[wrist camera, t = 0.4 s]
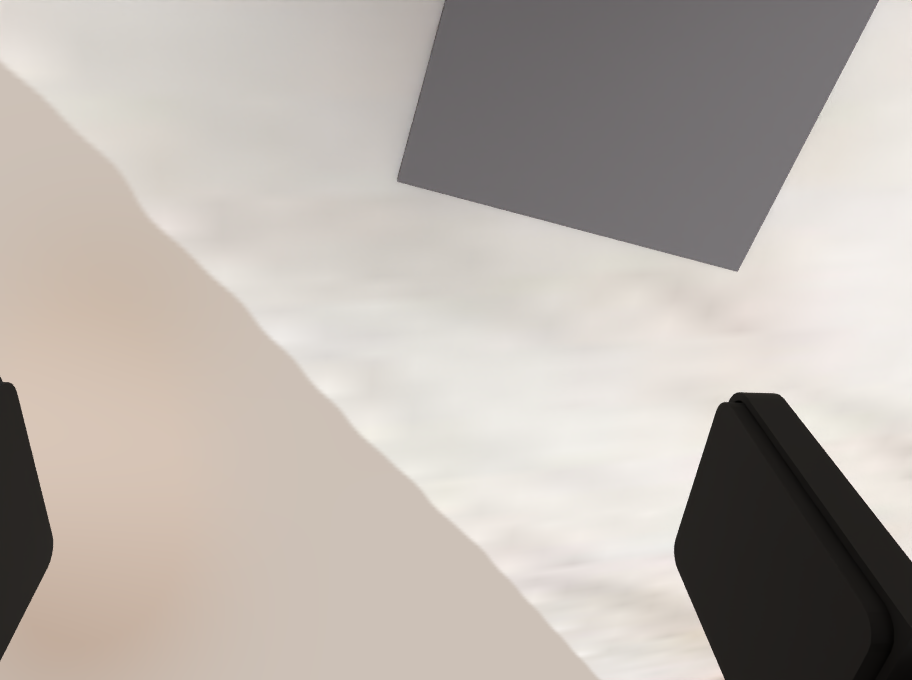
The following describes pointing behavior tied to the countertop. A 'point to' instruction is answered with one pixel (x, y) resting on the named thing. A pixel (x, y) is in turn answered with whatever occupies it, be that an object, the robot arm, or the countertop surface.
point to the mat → (629, 112)
